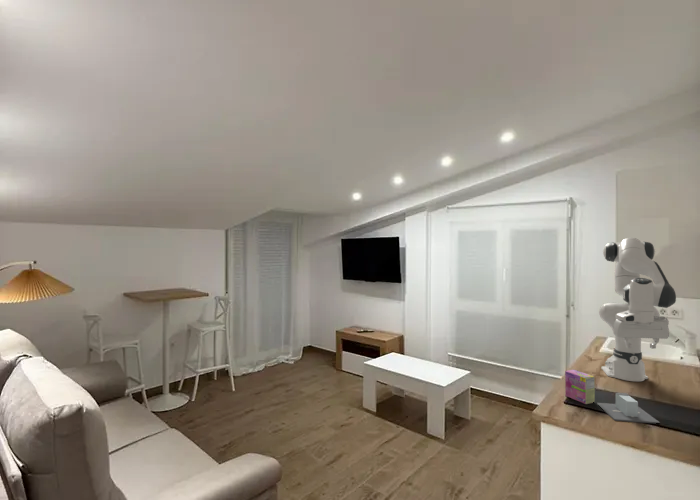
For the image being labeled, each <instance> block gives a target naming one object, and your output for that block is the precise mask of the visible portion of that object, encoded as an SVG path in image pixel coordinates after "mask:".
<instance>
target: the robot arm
mask: <svg viewBox="0 0 700 500" xmlns="http://www.w3.org/2000/svg"><path fill="white" fill-rule="evenodd" d="M602 252H603V253H602V254H603V257H604V260H606V261H607V262H611V263H612V262H613V263H614V262H616V263H615V268H614V290H615V292H616V294H617V295H618V296H621V297H622V300H623V301H624V302H625V303H624V302H607V303H603V304H602V305H601V306H600V307H599V310H598V314H599V317H600V319H601V320H602V321H604V323H606V324H607V325H608V326H609V327H610V328H611V330H612V332H613V336H614V344H615V345H614V348H613V353H612V355H611V356H610V357H608V358H606V361H605V364H604V366H603V365H602V366H601V367H600V368H601V370H602V371H603V372H604V373H605V374H606V376H607V377H609V378H610V377H611V378H615V379H619V380H623V381H628V382H629V381H630V382H644V381H645V380H648V379H649V376H648V375H646V368H645V366H646V365H645V362H644V361H643V352H642V339H652V340H653V341H652V342H651V343H649V348H650V349H654V350H655V349H657V344H658V343H659V342H660V339H661V340H663V339H664V340H665V339H666V340H667V339H669V338H670V329H669V325H670V324H669V322H670V321H669V319H668V318H667V317H665V316H660V312H659V310H658V309H657V308H656V307H658V308H664V309H667V308H669V307H671V306H673V305H675V303H676V301H677V295H676V290H675V289H674V288H673V286H672V285H671V284H670V282H669V280H668V278H667V277H666V275H665V274H664V271H663V270H662V268H661V266H660V265H659V263H658V262H657V261H656V260H655V261H654V260H653V259H654V257H655V254H656V249H655V246H654V245H653V243H652V242H649V241H641V240H639V239H638V238H636V237H626V238H624V239H622V240H621V241H617V242H613V241H611V242H608V243H606V244H605V245H604V247H603V250H602ZM641 275H642V276H646V277H649V278H645V277H641Z"/></svg>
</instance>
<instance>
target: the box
mask: <svg viewBox="0 0 700 500" xmlns="http://www.w3.org/2000/svg"><path fill="white" fill-rule="evenodd" d="M564 374H565V375H564V378H565V379H564V380H565V383H564V384H565V386H564V388H565V390H564V391H565V392H564V393H565V394H564V395H565V397H567V398H571V399H572V400H575V401H577V402H579V403H582V404H584V405H588V404H589V405H590V404H593V402H594V403H595V399H596V398H595V397H596V396H595V394H596V392H595V388H596V387H595V384H596V383H595V381H596V380H595V379H596V378H595V376H594V375H592V374H588V373H585V372H582V371H578V370H576V369H569V370H565V372H564Z"/></svg>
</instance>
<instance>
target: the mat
mask: <svg viewBox="0 0 700 500" xmlns="http://www.w3.org/2000/svg"><path fill="white" fill-rule="evenodd" d="M595 405H597V406H598V405H599V406H600V407H601V408H602V409H603V410H604V413H605V414H607V416H609V417H610V418H611V419H612V420H613V421H617V422H628V423H629V422H630V423H632V422H633V423H643V424H656V423H660V424H661V422H660V421H659V420H657V419H656V418H655V417H653V416H652V415H651V414H649V413H648V412H646V411H645V410H644V409H642V408H641V407H640V406H638V417H633V416H626V415H625V414H624V413H622V412H621V411H620V410H619V409H618V408H616V407H615V403H608V402H607V403H606V402H596V403H595ZM599 406H598V407H599ZM600 407H599V408H600ZM601 408H600V409H601ZM602 409H601V410H602ZM603 410H602V411H603Z"/></svg>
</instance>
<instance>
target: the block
mask: <svg viewBox="0 0 700 500" xmlns="http://www.w3.org/2000/svg"><path fill="white" fill-rule="evenodd" d="M614 404H615V407H616V408H618V409H619V410H620V411H621V412H622V413H624V414H625V415H626V416H633V417H638V407H639V402H638V401H637V400H636V399H634V398H633V397H631V396H630V395H629V393H626V392H615V403H614Z"/></svg>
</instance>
